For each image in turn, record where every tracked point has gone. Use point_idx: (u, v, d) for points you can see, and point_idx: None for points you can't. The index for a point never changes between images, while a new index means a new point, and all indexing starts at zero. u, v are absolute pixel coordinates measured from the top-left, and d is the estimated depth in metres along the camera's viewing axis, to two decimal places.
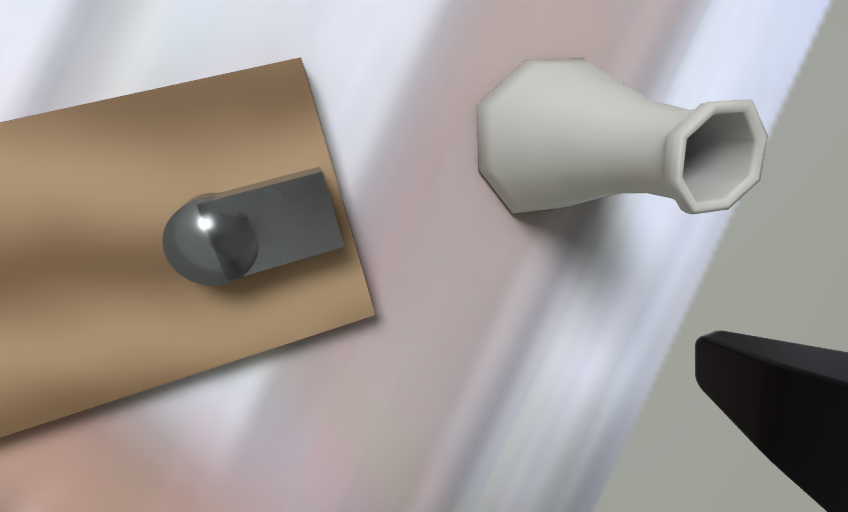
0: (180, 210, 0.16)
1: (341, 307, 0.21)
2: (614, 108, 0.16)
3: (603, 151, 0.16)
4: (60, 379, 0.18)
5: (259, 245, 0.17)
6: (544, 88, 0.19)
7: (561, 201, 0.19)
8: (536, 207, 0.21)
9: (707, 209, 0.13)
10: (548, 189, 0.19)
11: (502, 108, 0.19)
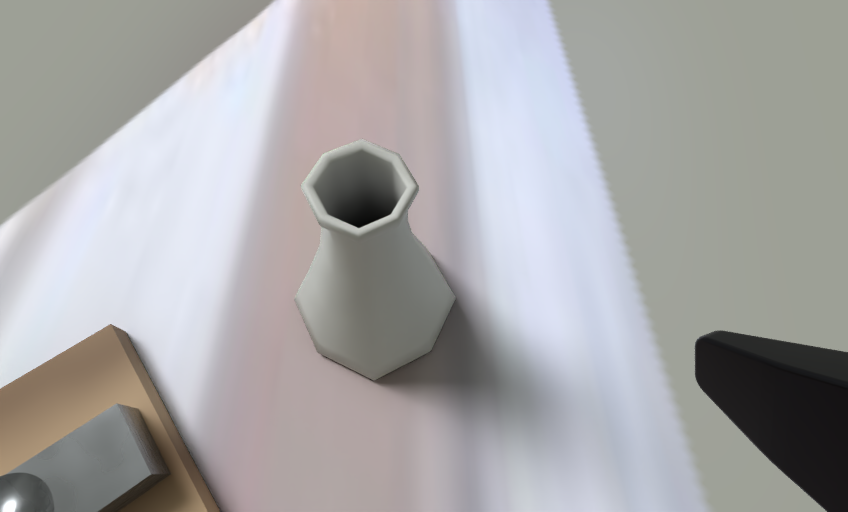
0: None
1: None
2: None
3: (330, 253, 0.16)
4: None
5: (54, 507, 0.16)
6: None
7: (369, 330, 0.18)
8: (371, 355, 0.19)
9: (372, 228, 0.13)
10: (354, 327, 0.18)
11: None
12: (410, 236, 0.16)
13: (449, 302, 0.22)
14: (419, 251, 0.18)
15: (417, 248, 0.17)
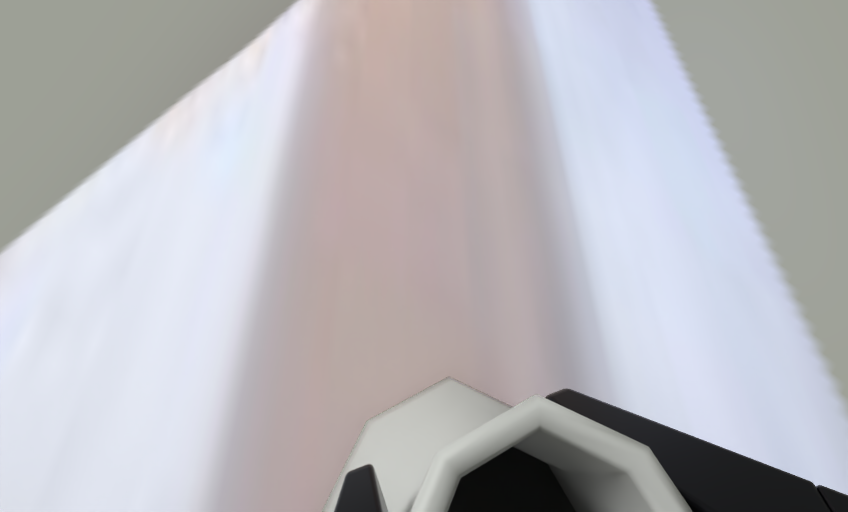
0: None
1: None
2: (414, 478, 0.08)
3: None
4: None
5: None
6: None
7: None
8: None
9: None
10: None
11: None
12: None
13: None
14: None
15: None
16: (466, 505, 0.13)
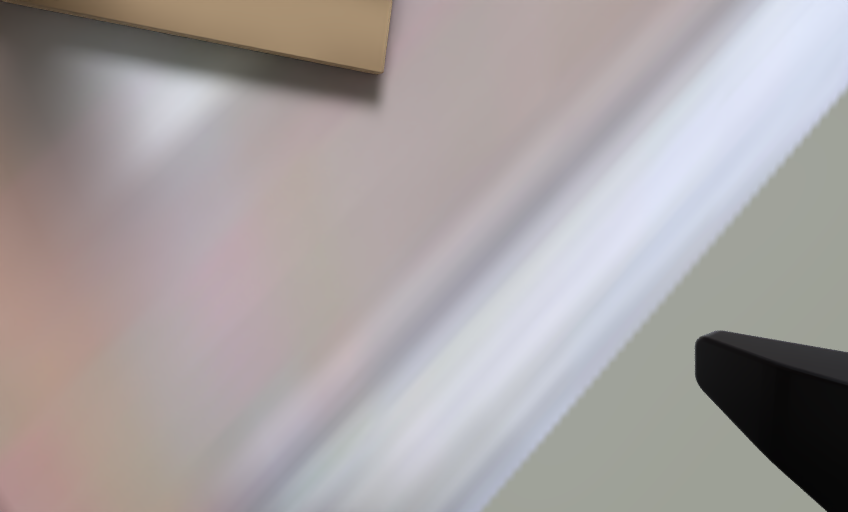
0: None
1: (348, 38, 0.16)
2: None
3: None
4: None
5: None
6: None
7: None
8: None
9: None
10: None
11: None
12: None
13: None
14: None
15: None
16: None
